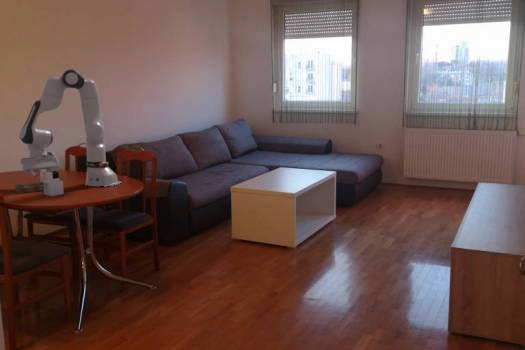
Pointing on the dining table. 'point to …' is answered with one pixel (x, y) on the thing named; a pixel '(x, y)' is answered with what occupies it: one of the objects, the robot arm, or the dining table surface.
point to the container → (53, 184)
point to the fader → (43, 176)
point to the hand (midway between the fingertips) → (43, 175)
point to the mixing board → (29, 187)
